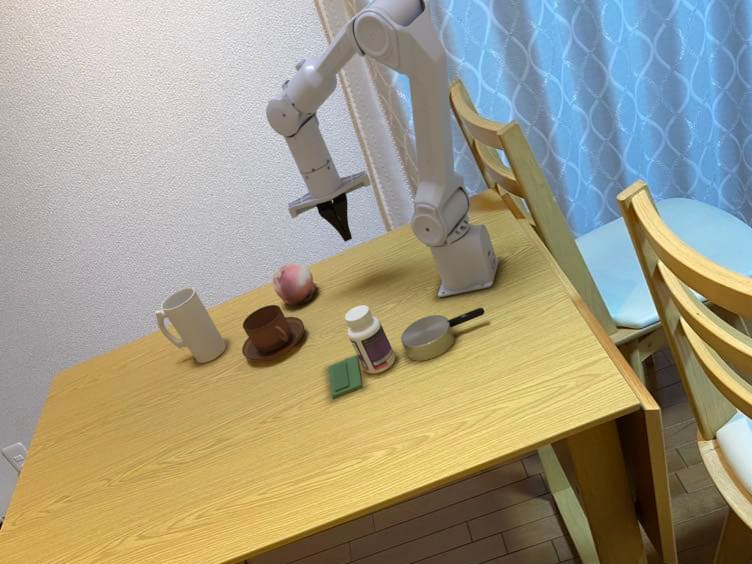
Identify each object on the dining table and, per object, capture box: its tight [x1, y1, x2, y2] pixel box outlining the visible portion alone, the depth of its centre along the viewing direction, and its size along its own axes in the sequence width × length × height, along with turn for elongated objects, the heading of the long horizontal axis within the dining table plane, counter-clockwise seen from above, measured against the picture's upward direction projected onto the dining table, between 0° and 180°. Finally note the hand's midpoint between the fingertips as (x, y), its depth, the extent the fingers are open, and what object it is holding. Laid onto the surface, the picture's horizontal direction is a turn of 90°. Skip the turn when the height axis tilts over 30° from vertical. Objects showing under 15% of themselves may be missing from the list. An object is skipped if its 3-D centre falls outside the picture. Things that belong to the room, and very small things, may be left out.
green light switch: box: [328, 354, 363, 400], centre depth 137 cm, size 5×9×1 cm, turn 7°
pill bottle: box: [344, 304, 396, 375], centre depth 133 cm, size 5×5×10 cm
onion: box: [272, 263, 318, 306], centre depth 160 cm, size 8×8×7 cm
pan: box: [400, 307, 485, 362], centre depth 134 cm, size 14×8×3 cm, turn 97°
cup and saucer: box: [241, 304, 305, 362], centre depth 151 cm, size 12×12×6 cm
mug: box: [154, 286, 227, 364], centre depth 157 cm, size 10×7×12 cm, turn 84°
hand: (348, 238), depth 151 cm, fingers closed
